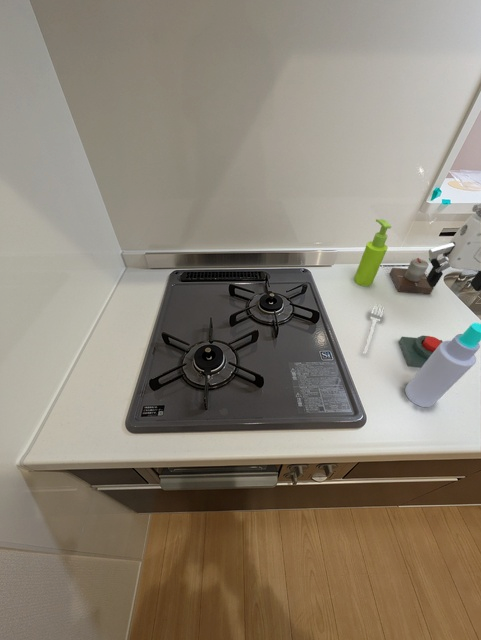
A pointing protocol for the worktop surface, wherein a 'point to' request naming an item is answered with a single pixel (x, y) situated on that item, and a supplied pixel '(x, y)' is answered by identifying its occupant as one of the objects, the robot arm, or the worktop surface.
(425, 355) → the button housing
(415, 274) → the dial
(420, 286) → the brown flat block
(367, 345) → the fork
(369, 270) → the soap dispenser
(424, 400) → the spray bottle
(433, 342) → the button
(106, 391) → the worktop surface
